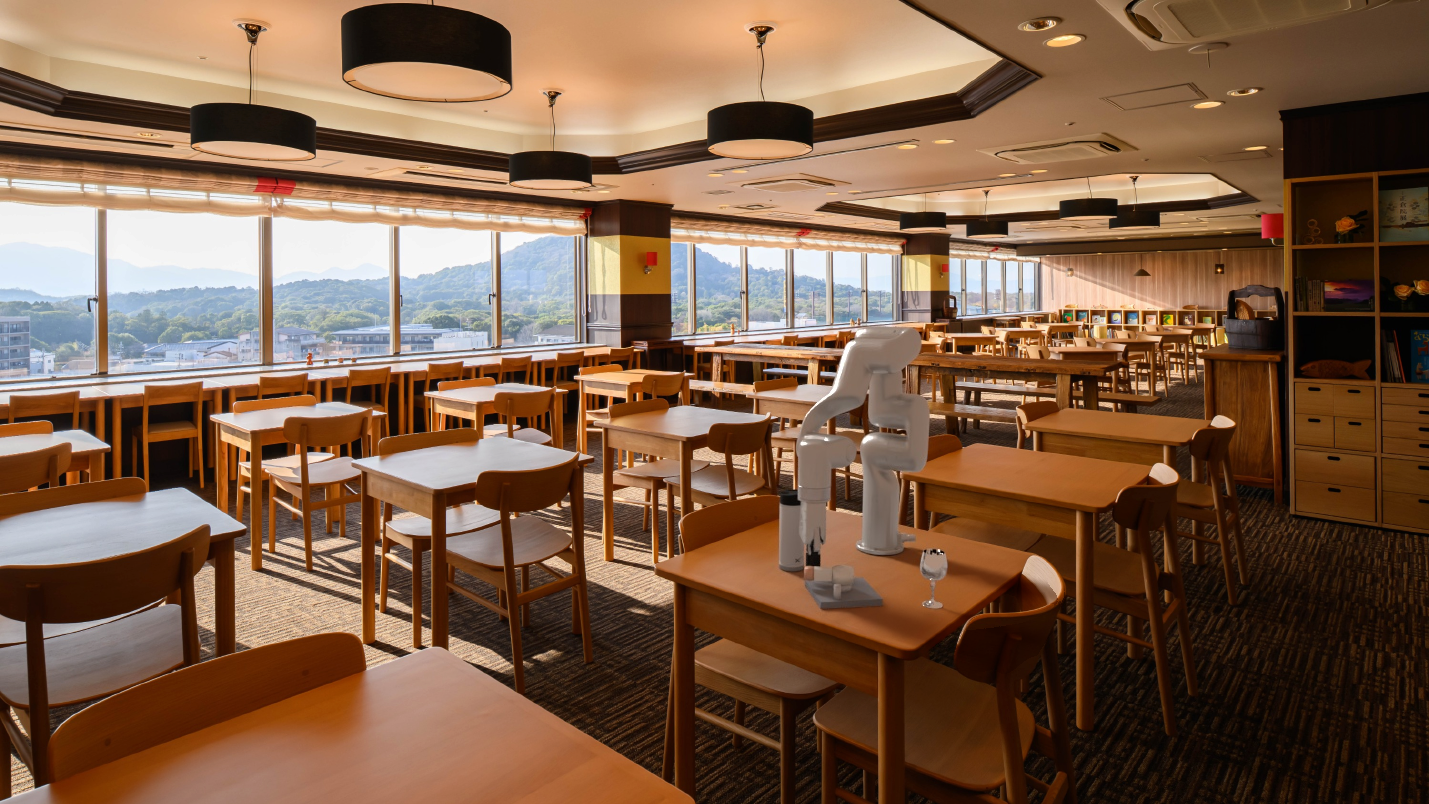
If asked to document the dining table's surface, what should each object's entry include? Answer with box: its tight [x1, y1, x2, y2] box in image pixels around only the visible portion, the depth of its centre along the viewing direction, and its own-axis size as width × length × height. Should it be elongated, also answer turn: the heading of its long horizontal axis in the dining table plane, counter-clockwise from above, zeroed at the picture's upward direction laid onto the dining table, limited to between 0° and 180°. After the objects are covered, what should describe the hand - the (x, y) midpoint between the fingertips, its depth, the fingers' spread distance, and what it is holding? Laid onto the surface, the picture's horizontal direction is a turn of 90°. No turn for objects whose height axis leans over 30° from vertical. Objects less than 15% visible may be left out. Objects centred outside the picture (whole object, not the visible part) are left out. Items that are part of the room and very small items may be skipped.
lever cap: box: [803, 564, 855, 585], centre depth 179 cm, size 11×5×3 cm, turn 84°
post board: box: [804, 576, 884, 610], centre depth 179 cm, size 14×14×4 cm
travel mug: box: [778, 488, 805, 573], centre depth 196 cm, size 6×7×20 cm
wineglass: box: [919, 548, 948, 610], centre depth 173 cm, size 6×6×12 cm
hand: (812, 569), depth 184 cm, fingers closed
